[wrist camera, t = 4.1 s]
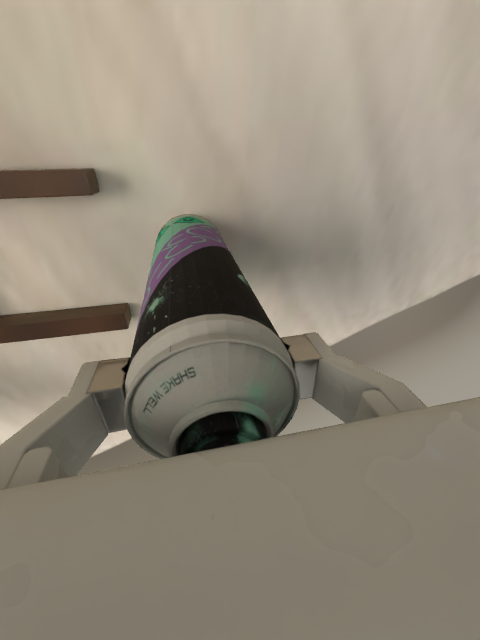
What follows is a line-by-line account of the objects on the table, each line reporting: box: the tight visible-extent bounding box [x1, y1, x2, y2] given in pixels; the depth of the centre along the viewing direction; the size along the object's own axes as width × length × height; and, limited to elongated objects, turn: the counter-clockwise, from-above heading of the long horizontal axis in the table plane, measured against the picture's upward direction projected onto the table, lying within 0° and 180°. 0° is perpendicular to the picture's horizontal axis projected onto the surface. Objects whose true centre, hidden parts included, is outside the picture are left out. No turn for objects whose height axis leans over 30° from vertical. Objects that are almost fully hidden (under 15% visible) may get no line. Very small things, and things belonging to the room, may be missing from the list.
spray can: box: [124, 215, 300, 459], centre depth 15 cm, size 6×6×20 cm
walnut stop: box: [0, 168, 131, 343], centre depth 20 cm, size 13×12×2 cm
